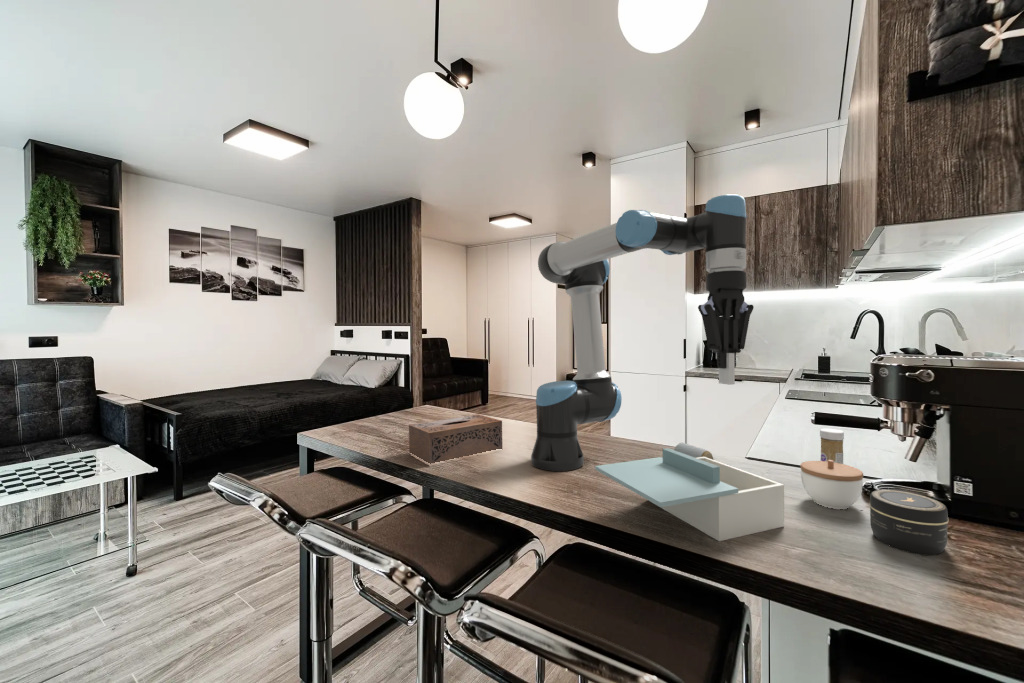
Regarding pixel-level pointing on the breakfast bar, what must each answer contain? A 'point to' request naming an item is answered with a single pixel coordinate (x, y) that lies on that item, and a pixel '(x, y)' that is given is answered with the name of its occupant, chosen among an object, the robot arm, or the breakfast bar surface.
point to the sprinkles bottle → (832, 445)
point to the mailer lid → (669, 478)
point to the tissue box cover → (454, 437)
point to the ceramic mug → (693, 451)
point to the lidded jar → (831, 483)
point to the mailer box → (735, 506)
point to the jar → (909, 521)
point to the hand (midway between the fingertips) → (726, 383)
